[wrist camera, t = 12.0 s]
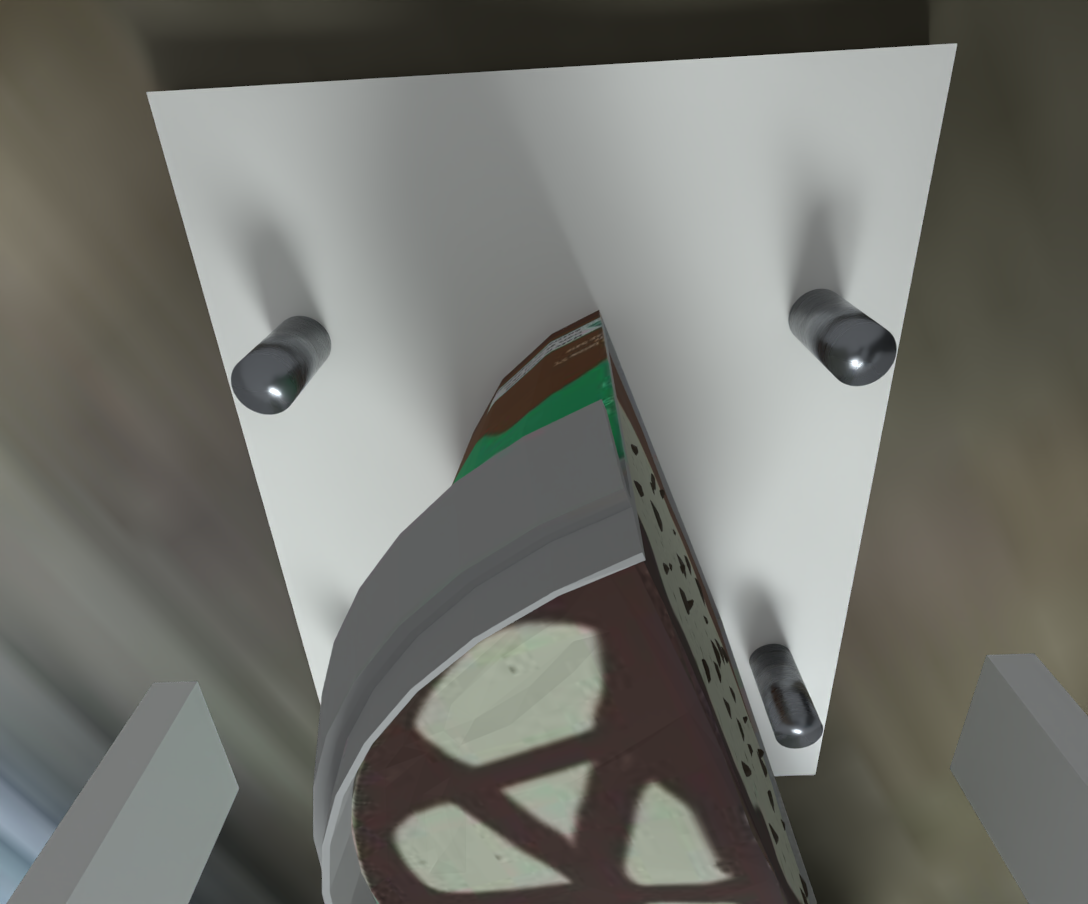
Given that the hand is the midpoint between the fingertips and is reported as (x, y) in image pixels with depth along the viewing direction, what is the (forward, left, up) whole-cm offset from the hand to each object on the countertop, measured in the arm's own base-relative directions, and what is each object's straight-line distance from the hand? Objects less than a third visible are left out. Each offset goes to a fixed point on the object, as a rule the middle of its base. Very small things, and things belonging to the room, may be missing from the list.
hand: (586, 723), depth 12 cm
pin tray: (0, 0, -7) cm, 7 cm away
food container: (+1, 0, -6) cm, 6 cm away
